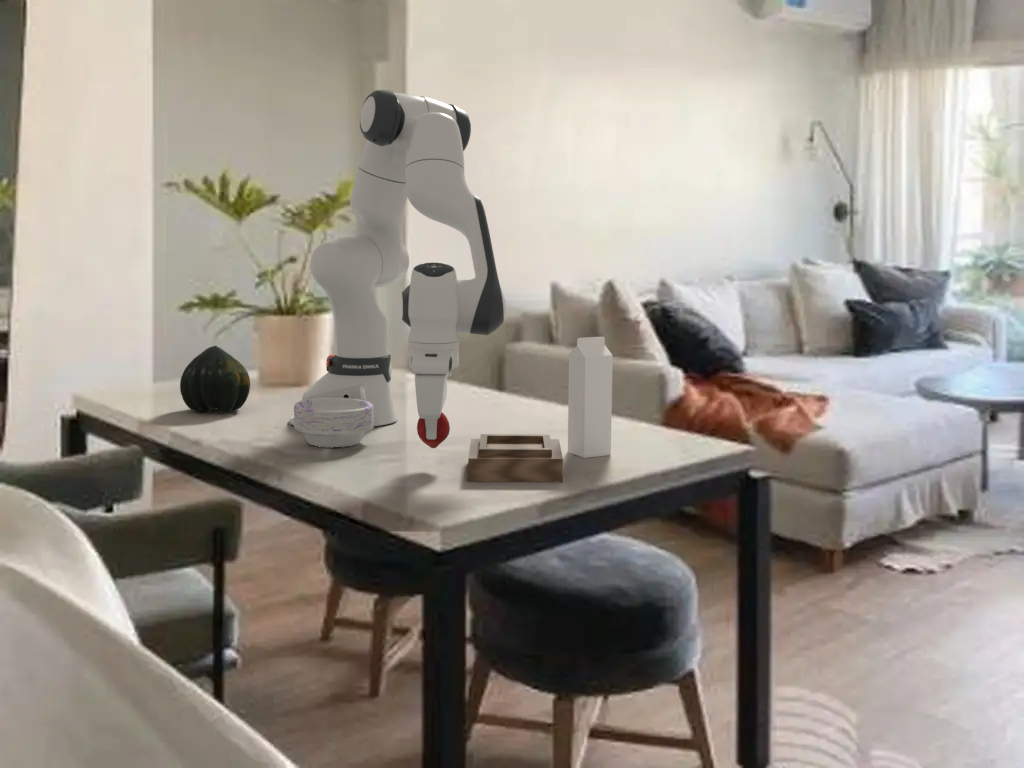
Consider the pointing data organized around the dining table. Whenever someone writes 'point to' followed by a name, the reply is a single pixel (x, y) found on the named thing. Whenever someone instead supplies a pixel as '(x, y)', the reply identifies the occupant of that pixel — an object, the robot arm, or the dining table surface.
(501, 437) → the walnut pedestal
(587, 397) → the milk
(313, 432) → the paper bowls
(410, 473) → the dining table surface
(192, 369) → the squash
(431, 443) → the onion
